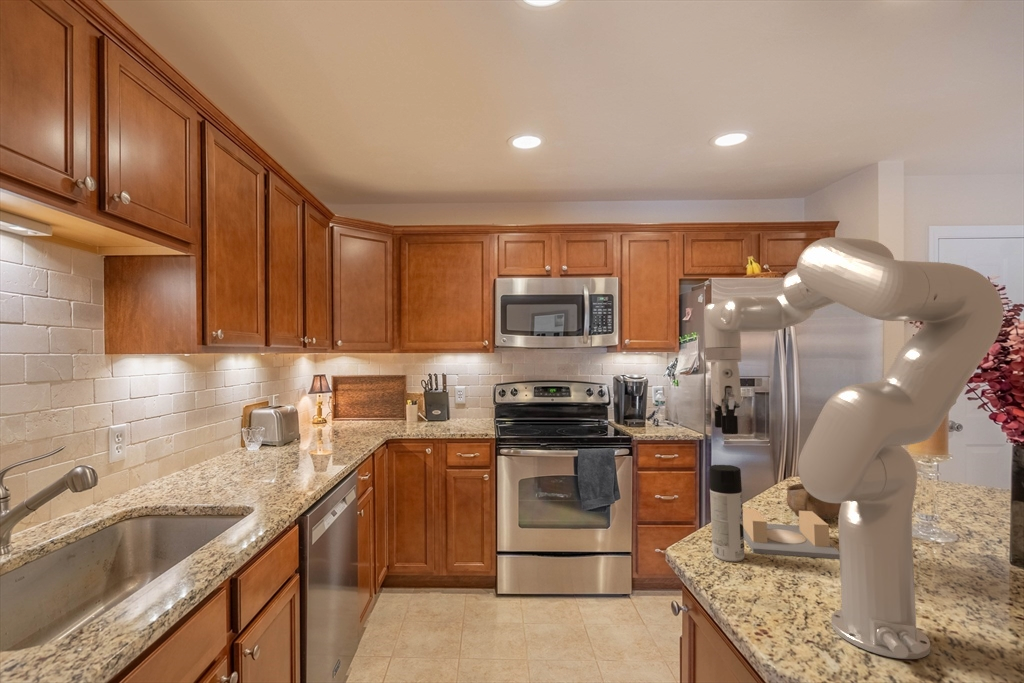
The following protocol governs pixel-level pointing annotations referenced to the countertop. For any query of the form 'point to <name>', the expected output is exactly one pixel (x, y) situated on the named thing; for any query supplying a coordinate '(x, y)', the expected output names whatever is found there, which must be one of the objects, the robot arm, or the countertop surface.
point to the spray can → (726, 512)
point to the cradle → (788, 536)
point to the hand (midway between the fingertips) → (725, 430)
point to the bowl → (810, 503)
